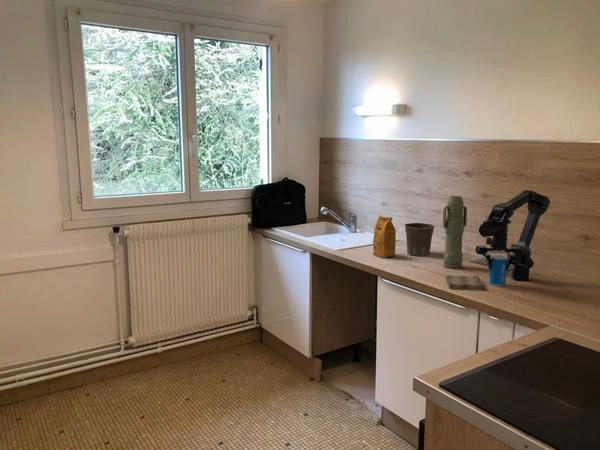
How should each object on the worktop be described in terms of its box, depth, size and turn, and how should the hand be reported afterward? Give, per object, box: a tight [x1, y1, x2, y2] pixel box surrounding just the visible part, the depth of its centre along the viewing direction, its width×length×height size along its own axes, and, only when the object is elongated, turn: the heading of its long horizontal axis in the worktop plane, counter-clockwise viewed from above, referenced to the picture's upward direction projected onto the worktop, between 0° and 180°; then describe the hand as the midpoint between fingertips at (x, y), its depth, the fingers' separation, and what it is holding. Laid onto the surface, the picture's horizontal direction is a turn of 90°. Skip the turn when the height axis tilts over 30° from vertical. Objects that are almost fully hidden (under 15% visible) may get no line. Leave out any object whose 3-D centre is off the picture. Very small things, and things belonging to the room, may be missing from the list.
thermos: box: [442, 195, 468, 270], centre depth 245 cm, size 9×12×35 cm
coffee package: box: [372, 214, 397, 259], centre depth 271 cm, size 10×12×22 cm
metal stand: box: [445, 274, 485, 291], centre depth 217 cm, size 14×14×2 cm
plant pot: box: [404, 222, 436, 257], centre depth 274 cm, size 16×16×16 cm
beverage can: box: [489, 255, 507, 287], centre depth 216 cm, size 6×6×12 cm
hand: (498, 269), depth 216 cm, fingers closed on beverage can, 6 cm apart
